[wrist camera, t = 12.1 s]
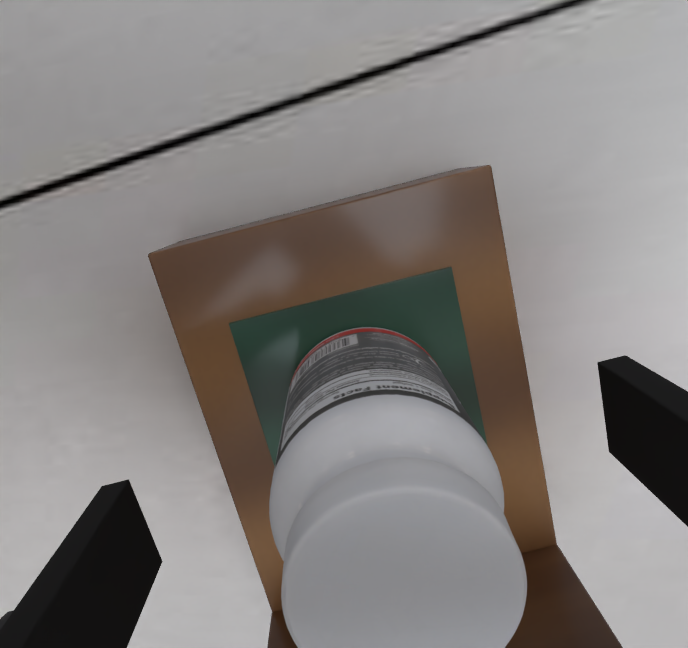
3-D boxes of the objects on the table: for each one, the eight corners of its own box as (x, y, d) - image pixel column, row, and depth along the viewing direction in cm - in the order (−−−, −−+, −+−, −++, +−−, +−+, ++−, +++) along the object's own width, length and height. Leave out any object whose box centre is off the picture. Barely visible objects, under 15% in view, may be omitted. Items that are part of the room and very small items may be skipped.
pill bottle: (429, 475, 20) (519, 732, 11) (280, 460, 20) (238, 713, 11) (456, 331, 19) (587, 482, 9) (296, 313, 19) (265, 449, 9)
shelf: (177, 241, 22) (62, 287, 12) (462, 167, 22) (570, 155, 12) (284, 561, 26) (259, 782, 16) (525, 503, 26) (644, 696, 16)
